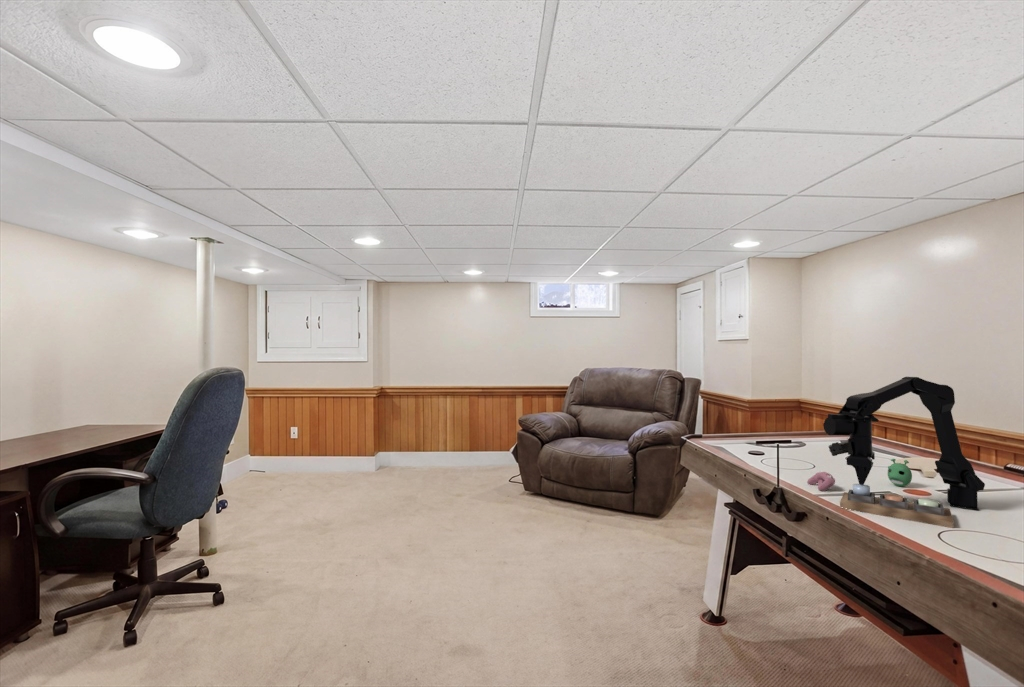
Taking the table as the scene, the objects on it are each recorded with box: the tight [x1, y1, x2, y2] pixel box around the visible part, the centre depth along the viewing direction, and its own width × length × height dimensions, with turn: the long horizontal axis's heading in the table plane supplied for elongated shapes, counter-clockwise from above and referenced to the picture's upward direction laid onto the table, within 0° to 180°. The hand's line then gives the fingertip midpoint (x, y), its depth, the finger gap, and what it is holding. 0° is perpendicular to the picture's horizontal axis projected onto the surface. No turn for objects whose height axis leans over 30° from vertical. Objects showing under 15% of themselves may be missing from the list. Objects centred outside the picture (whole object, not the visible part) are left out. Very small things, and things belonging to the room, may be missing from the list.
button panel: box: [839, 489, 954, 529], centre depth 145 cm, size 26×14×4 cm, turn 50°
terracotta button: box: [883, 492, 904, 502], centre depth 145 cm, size 4×4×3 cm
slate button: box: [852, 483, 871, 497], centre depth 150 cm, size 4×4×3 cm
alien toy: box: [887, 458, 913, 487], centre depth 174 cm, size 7×8×10 cm
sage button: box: [917, 497, 939, 507], centre depth 139 cm, size 4×4×3 cm
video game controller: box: [806, 470, 836, 492], centre depth 170 cm, size 10×5×7 cm, turn 170°
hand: (861, 484), depth 150 cm, fingers closed
